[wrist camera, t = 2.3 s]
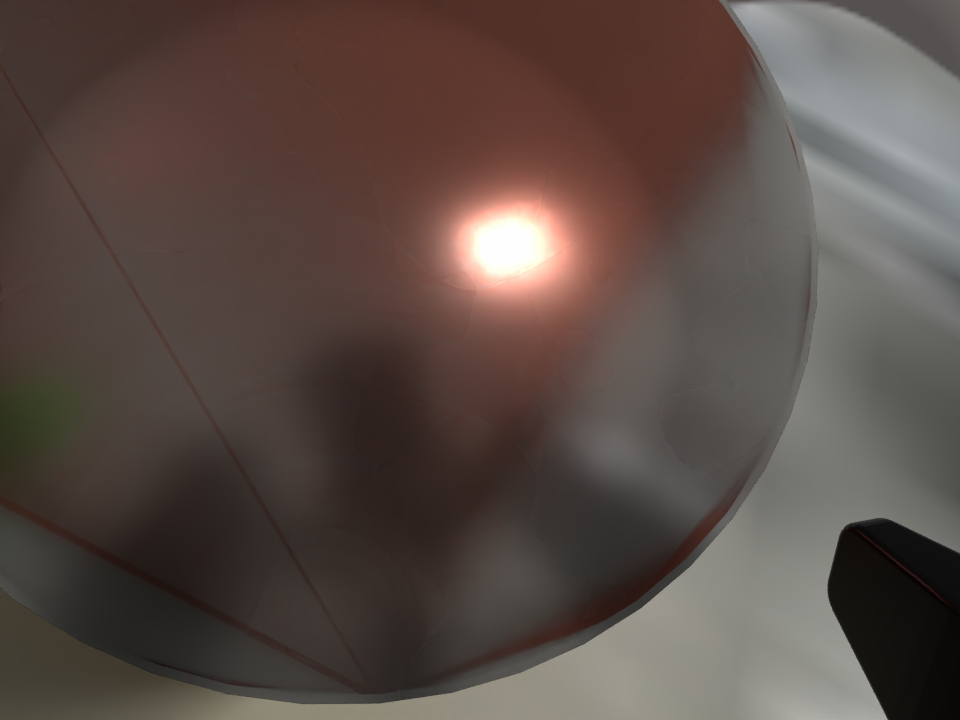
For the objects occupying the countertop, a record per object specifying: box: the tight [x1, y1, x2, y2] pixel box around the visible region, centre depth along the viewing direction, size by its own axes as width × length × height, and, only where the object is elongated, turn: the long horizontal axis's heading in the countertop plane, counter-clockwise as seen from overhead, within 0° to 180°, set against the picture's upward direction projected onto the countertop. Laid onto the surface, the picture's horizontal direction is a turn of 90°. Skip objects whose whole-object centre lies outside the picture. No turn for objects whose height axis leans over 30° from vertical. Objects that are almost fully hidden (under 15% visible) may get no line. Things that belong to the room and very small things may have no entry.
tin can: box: [0, 0, 818, 704], centre depth 12 cm, size 6×6×13 cm
